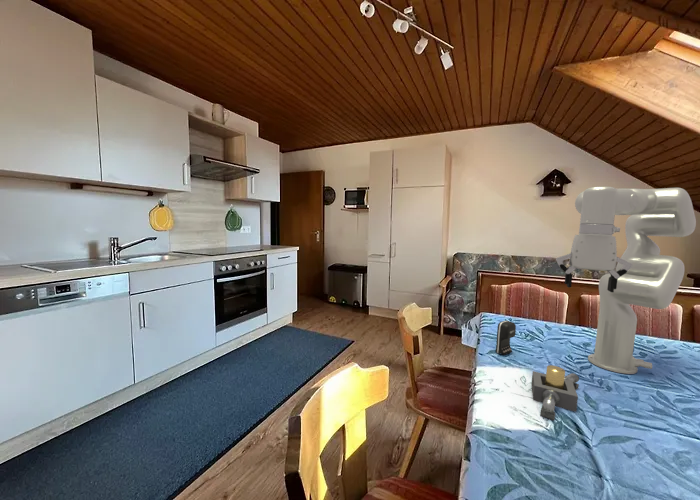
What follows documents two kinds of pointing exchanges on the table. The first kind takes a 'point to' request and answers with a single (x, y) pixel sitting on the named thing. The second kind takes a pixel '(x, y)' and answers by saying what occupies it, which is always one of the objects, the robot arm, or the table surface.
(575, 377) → the shaft
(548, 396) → the shaft
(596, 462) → the table surface
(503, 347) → the battery charger
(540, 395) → the grey square frame
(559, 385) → the yellow cylinder
